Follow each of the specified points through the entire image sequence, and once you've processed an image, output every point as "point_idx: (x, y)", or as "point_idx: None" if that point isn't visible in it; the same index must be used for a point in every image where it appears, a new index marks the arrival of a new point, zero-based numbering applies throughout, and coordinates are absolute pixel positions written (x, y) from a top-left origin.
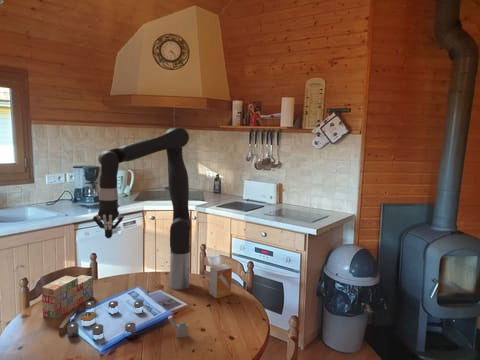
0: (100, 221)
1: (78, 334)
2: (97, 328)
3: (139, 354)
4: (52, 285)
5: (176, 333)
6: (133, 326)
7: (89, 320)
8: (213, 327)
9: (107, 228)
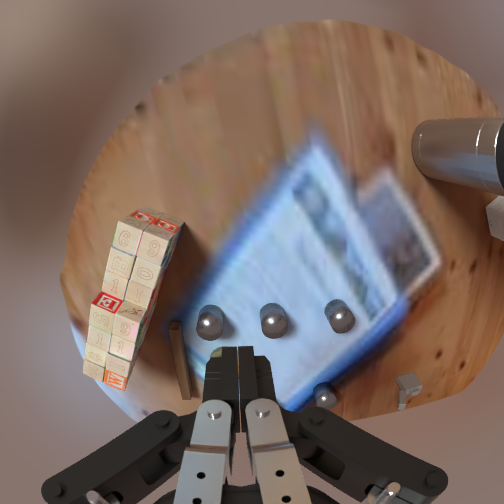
0: (135, 477)
1: None
2: None
3: None
4: (101, 369)
5: (399, 387)
6: (333, 406)
7: None
8: (453, 345)
9: (234, 441)
